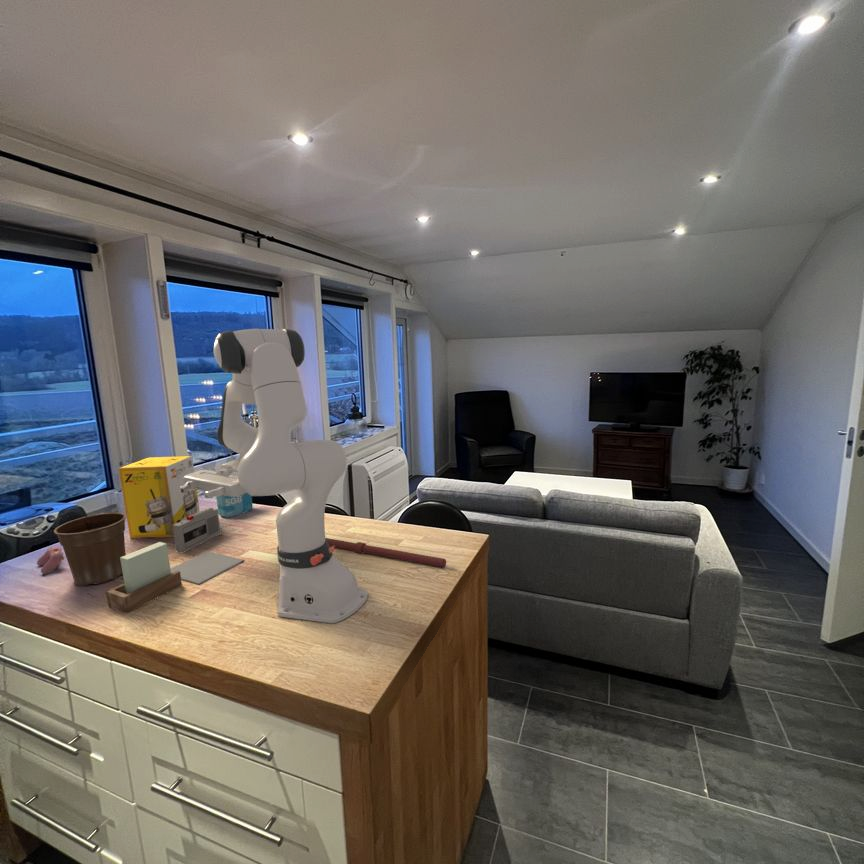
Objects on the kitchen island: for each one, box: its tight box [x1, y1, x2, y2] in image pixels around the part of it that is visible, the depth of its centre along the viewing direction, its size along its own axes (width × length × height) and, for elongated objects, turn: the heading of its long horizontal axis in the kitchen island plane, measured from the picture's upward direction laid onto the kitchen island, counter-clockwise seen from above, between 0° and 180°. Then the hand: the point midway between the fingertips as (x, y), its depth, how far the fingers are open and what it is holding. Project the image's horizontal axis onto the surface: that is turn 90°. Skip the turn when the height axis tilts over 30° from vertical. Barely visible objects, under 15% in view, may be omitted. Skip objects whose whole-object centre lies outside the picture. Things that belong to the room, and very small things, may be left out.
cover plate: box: [120, 541, 171, 594], centre depth 116 cm, size 3×10×12 cm, turn 154°
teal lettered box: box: [215, 493, 253, 519], centre depth 176 cm, size 12×4×12 cm, turn 144°
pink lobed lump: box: [36, 545, 66, 575], centre depth 135 cm, size 10×5×7 cm, turn 47°
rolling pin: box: [325, 537, 447, 568], centre depth 134 cm, size 45×3×3 cm, turn 64°
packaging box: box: [118, 455, 201, 539], centre depth 161 cm, size 16×16×25 cm
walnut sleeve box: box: [105, 571, 183, 614], centre depth 116 cm, size 8×14×4 cm, turn 154°
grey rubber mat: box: [170, 551, 245, 585], centre depth 131 cm, size 16×15×1 cm
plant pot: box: [53, 512, 127, 587], centre depth 127 cm, size 16×16×16 cm
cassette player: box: [172, 506, 222, 553], centre depth 149 cm, size 16×3×10 cm, turn 160°
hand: (194, 492), depth 127 cm, fingers open, 8 cm apart
